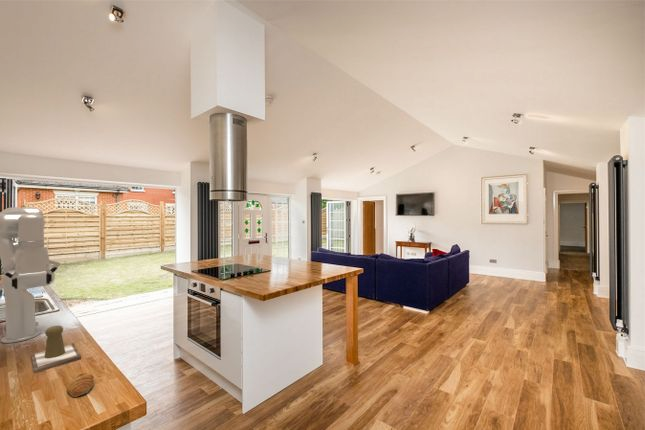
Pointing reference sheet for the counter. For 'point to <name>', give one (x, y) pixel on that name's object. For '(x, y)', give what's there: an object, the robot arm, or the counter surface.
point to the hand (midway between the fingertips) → (32, 285)
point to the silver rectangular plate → (46, 363)
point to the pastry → (80, 384)
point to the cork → (54, 342)
